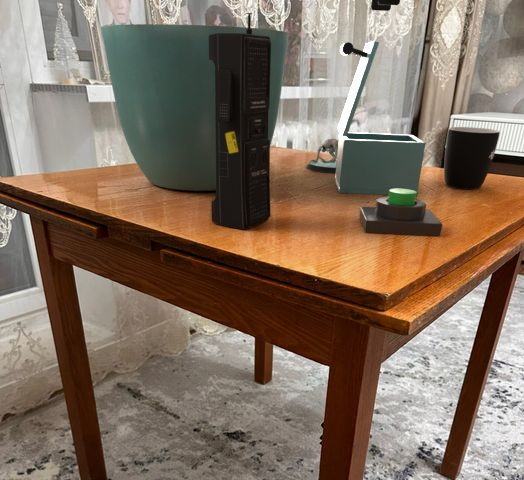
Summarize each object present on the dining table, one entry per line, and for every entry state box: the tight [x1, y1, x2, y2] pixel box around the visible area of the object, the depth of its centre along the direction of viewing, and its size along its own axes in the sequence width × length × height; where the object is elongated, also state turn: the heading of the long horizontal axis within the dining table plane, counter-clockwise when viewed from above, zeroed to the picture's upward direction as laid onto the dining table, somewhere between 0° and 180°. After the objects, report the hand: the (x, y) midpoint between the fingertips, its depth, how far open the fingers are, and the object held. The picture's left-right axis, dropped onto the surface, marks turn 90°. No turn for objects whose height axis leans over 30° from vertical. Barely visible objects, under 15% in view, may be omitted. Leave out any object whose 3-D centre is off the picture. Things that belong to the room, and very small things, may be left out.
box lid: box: [337, 40, 380, 137], centre depth 92 cm, size 14×12×5 cm
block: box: [358, 196, 443, 237], centre depth 75 cm, size 10×8×4 cm
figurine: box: [305, 138, 339, 174], centre depth 115 cm, size 11×12×6 cm
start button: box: [388, 188, 418, 205], centre depth 74 cm, size 4×4×2 cm
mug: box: [443, 126, 500, 190], centre depth 103 cm, size 12×9×10 cm
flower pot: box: [100, 23, 290, 192], centre depth 93 cm, size 30×30×24 cm
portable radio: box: [209, 12, 272, 231], centre depth 69 cm, size 8×6×25 cm
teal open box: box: [334, 131, 426, 197], centre depth 98 cm, size 14×12×9 cm
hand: (384, 7), depth 85 cm, fingers open, 9 cm apart
